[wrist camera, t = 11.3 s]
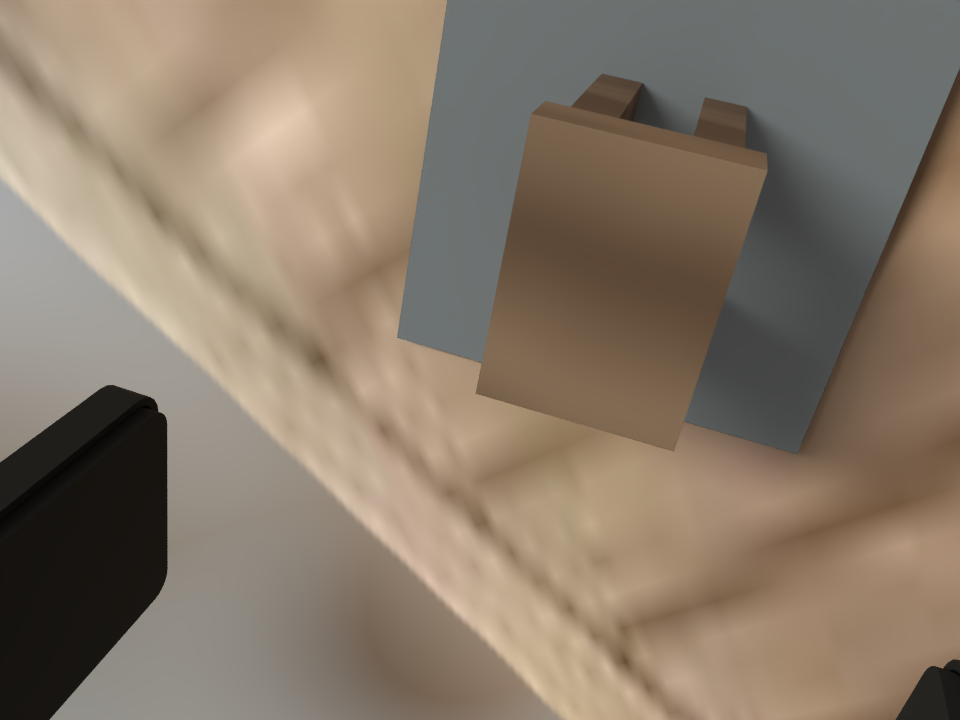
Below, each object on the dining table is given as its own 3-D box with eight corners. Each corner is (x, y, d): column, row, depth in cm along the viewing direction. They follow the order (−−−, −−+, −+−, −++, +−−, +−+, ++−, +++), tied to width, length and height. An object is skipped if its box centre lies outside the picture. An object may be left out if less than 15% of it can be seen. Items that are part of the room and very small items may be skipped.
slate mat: (980, 4, 23) (985, 6, 23) (796, 444, 30) (796, 454, 30) (468, -104, 26) (463, -104, 25) (402, 330, 32) (397, 337, 32)
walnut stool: (693, 320, 29) (673, 451, 22) (541, 279, 29) (475, 393, 22) (764, 99, 25) (767, 170, 18) (590, 59, 26) (530, 113, 19)
